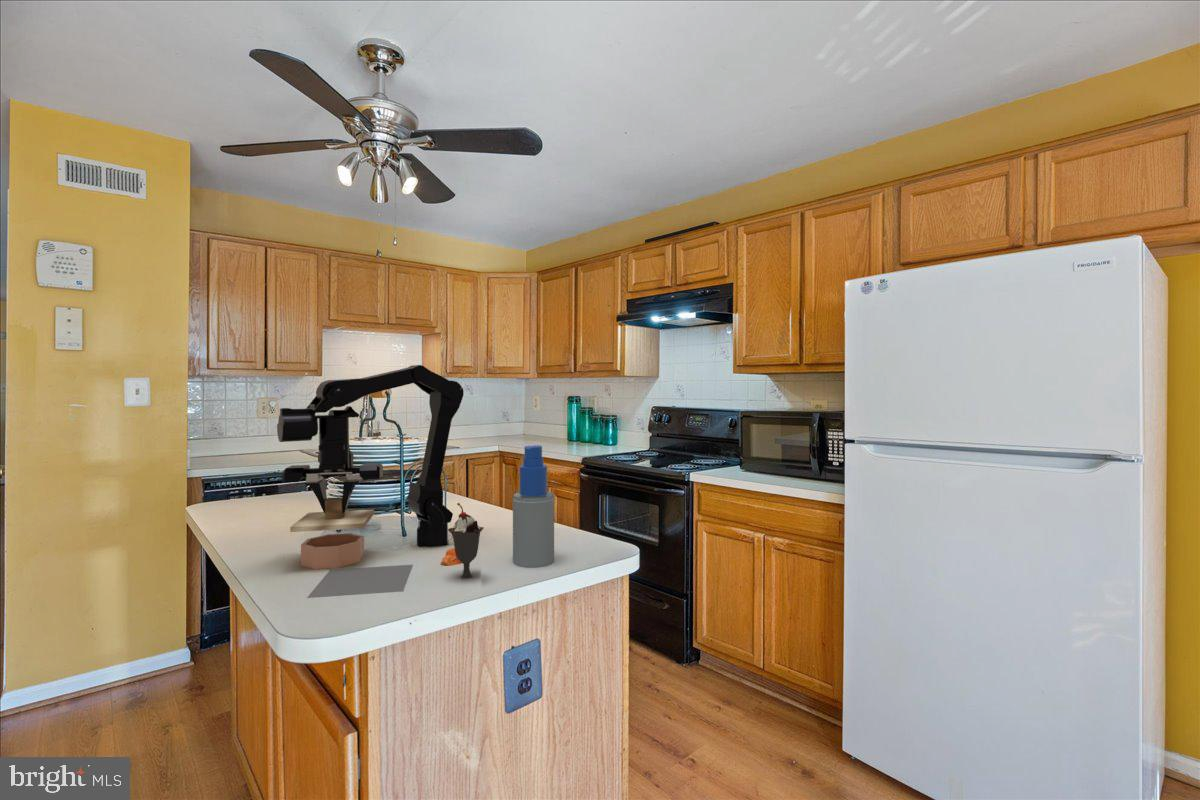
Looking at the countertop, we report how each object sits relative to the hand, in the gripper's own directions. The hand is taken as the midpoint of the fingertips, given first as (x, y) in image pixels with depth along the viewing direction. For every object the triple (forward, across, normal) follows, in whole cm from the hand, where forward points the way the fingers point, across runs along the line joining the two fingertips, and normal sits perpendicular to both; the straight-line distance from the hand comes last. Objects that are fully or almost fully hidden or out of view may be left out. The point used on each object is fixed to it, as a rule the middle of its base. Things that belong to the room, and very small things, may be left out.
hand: (335, 512), depth 122 cm
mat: (+11, -8, +14) cm, 20 cm away
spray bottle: (+11, -41, +7) cm, 43 cm away
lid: (+2, 0, 0) cm, 2 cm away
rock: (+12, -24, +5) cm, 28 cm away
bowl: (+11, +1, -1) cm, 11 cm away
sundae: (+11, -27, +17) cm, 34 cm away
